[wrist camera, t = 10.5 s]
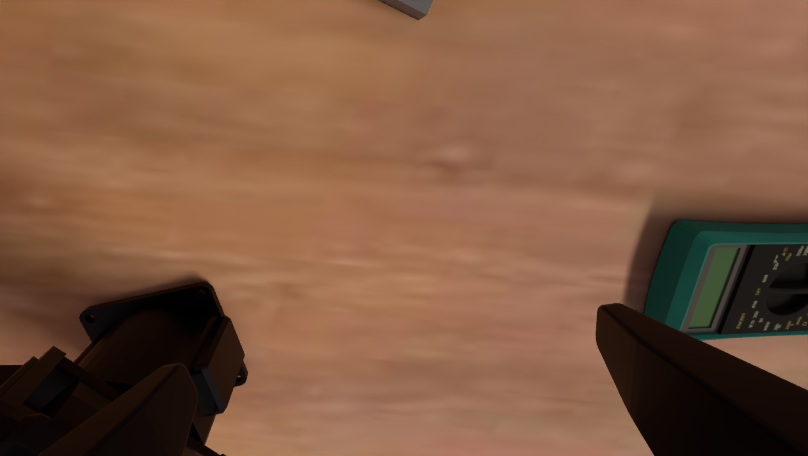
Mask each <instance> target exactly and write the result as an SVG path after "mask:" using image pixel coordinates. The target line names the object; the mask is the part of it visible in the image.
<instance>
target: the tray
mask: <svg viewBox="0 0 808 456" xmlns="http://www.w3.org/2000/svg"><path fill="white" fill-rule="evenodd" d="M379 1H381V2H383V3H385V4H387V5H389V6H391V7H393V8H395V9H397V10H399V11H401V12H403V13H405V14H407V15H409V16H411V17H413V18H415V19H417V20H419V19H421V18H423V17H424V16H426V15H427V13H428V11H429V8H430V5H431V3H432V0H379Z"/></svg>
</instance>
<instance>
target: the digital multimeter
mask: <svg viewBox="0 0 808 456" xmlns="http://www.w3.org/2000/svg"><path fill="white" fill-rule="evenodd" d="M807 260H808V224H752V223H726V222H708V221H690V220H680V221H677V222H676V223H674V224H673V226H672V228H671V230H670V232H669V234H668V237H667V239H666V242H665V244H664V246H663V249H662V252H661V254H660V257H659V259H658V262H657V265H656V268H655V271H654V274H653V277H652V281H651V284H650V288H649V292H648V297H647V301H646V306H645V311H644V315H646V316H648V317H651V318H653V319H655V320H657V321H659V322H661V323H664V324H666V325H668V326H670V327H672V328H674V329H677V330H679V331H681V332H683V333H685V334H687V335H689V336H692V337H694V338H696V339H698V340H700V341H705V340H716V339H727V338H743V337H762V336H783V335H808V261H807Z"/></svg>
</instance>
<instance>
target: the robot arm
mask: <svg viewBox="0 0 808 456" xmlns="http://www.w3.org/2000/svg"><path fill="white" fill-rule="evenodd" d="M199 290H203V291H205V292H206V293H207V295H202V294H200V292H199ZM90 315H93V316H95V317H96V319H94V318H92V317H91V316H90ZM79 318H80V321H81V323H82V325H83V327H84V328H85V330H86V332H87V334H88V336H89V337H90V339H91V341H92V343H91V344H90V345H89V346H88V347H87V348H86V349H85V350H84V351H83V353H82V354H81V355H80V356H79V357H78V358H77V359H76V360H75V361H74V362H72V361H71V360H69V359H67V358H66V357H64V356H65V355H66V353H64V352H62V351H61V350H59V349H58V348H56V347H55V346H53V347H52V348H50V349H49V350H48V351H47V352H46V353H45V354H44V355H43V356H41V357H40V358H39V359H37V358H36V357H34V356H33V357H32V358H31V359H30V360H29V361H28V362H26V363H25V364H24V365H0V456H226V455H224V454H221V455H219V454H218V453H216V452H214V451H213V450H211V449H210V448H208V447H207V446H205V443H206V441H207V438H208V435H209V432H210V430H211V427H212V424H213V422H214V419H215V416H216V415H217V414H221V413H223V412H224V411H225V409H226V408H227V405H228V403H229V400H230V397H231V394H232V391H233V388H234V387H236V386H240V385H242V384H244V383H245V382H246V379H247V376H248V371H247V369H246V366H245V364H244V361H243V359H244V356H245V354H244V351H243V349H242V346H241V344H240V341H239V339H238V336H237V334H236V331H235V329H234V326H233V324H232V321H231V319H230V318H229V317H227V316H225V315H224V312H223V310H222V307H221V305H220V302H219V300H218V297H217V295H216V292H215V290H214V288H213V286H212V285H210V284H209V283H206V282H200V283H195V284H191V285H186V286H181V287H177V288H172V289H168V290H163V291H158V292H154V293H149V294H145V295H140V296H136V297H131V298H126V299H122V300H117V301H113V302H108V303H103V304H99V305H94V306H90V307H88V308H86V309H85V310H84V311H83V312H82V313H81V314H80V317H79ZM596 343H597V346H598V349H599V351H600V353H601V355H602V357H603V359H604V361H605V364H606V366H607V368H608V370H609V372H610V374H611V376H612V379H613V381H614V383H615V385H616V387H617V389H618V391H619V394H620V396H621V398H622V400H623V402H624V404H625V406H626V408H627V410H628V412H629V414H630V416H631V418H632V419H633V421H634V423H635V425H636V426H637V428H638V430H639V431H640V433H641V435H642V436H643V438H644V440H645V441H646V443H647V444H648V446H649V448H650V449H651V451H652V453H653V454H654V456H808V390H806V389H804V388H802V387H800V386H797V385H795V384H793V383H791V382H789V381H787V380H784V379H782V378H780V377H778V376H776V375H774V374H772V373H769V372H767V371H765V370H763V369H761V368H759V367H756V366H754V365H752V364H750V363H748V362H746V361H743V360H741V359H739V358H737V357H735V356H733V355H730V354H728V353H726V352H724V351H722V350H720V349H718V348H715V347H713V346H711V345H709V344H707V343H705V342H702V341H700V340H698V339H696V338H694V337H692V336H689V335H687V334H685V333H683V332H681V331H679V330H677V329H674V328H672V327H670V326H668V325H666V324H664V323H661V322H659V321H657V320H655V319H653V318H651V317H648V316H646V315H644V314H642V313H640V312H638V311H636V310H633V309H631V308H629V307H627V306H625V305H623V304H620V303H613V304H606V305H601V306H600V307H599V308H598V310H597V322H596ZM238 375H240V376H241V377H237V376H238Z"/></svg>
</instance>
